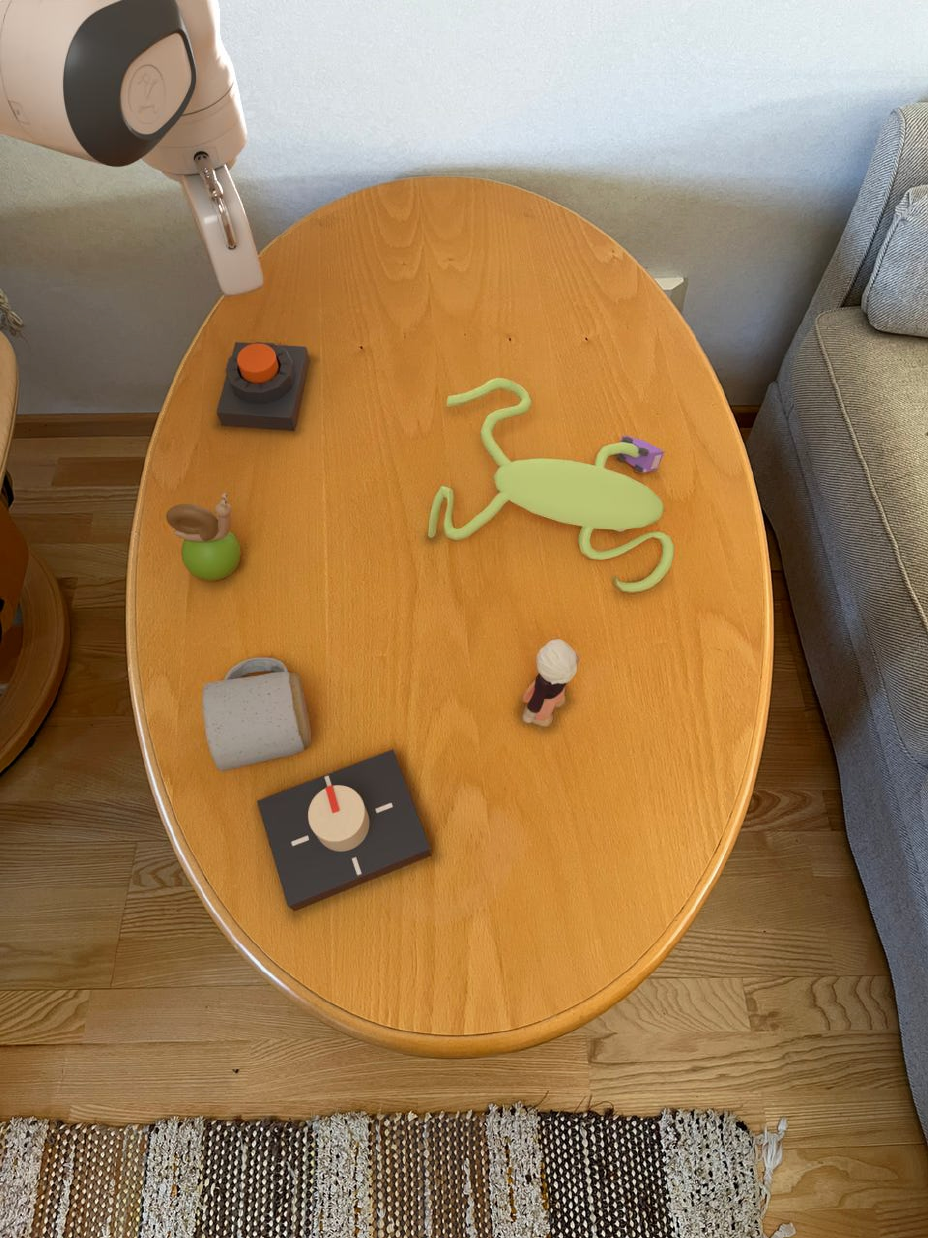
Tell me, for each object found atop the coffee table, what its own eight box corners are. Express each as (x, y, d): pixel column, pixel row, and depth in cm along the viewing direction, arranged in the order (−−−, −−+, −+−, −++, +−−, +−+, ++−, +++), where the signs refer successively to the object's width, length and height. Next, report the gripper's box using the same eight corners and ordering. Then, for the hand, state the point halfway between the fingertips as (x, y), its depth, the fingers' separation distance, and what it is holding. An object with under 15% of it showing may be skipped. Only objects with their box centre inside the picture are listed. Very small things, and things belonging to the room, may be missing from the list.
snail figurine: (252, 591, 81) (221, 524, 71) (186, 590, 81) (145, 523, 71) (259, 543, 84) (230, 471, 73) (195, 542, 84) (156, 470, 73)
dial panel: (294, 911, 68) (287, 906, 66) (263, 809, 72) (256, 800, 69) (431, 855, 70) (430, 848, 68) (395, 759, 74) (392, 748, 71)
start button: (274, 385, 88) (271, 373, 87) (237, 382, 88) (233, 370, 87) (281, 356, 90) (278, 344, 88) (244, 353, 90) (241, 341, 89)
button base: (294, 431, 90) (288, 406, 87) (221, 425, 90) (211, 400, 87) (309, 360, 95) (304, 334, 91) (239, 355, 95) (231, 329, 91)
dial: (376, 841, 68) (371, 829, 64) (323, 859, 67) (315, 849, 63) (360, 790, 70) (355, 776, 66) (309, 807, 69) (301, 794, 65)
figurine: (459, 396, 92) (459, 360, 87) (697, 461, 89) (712, 427, 84) (400, 531, 85) (396, 499, 80) (658, 608, 81) (671, 580, 76)
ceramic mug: (319, 760, 74) (305, 731, 67) (226, 783, 73) (203, 755, 66) (300, 655, 79) (285, 617, 72) (212, 674, 78) (189, 638, 71)
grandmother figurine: (538, 665, 78) (553, 603, 67) (576, 682, 78) (598, 622, 66) (505, 736, 75) (514, 684, 64) (544, 754, 74) (560, 704, 63)
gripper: (262, 192, 61) (295, 334, 73) (194, 37, 69) (233, 188, 82) (177, 213, 60) (224, 354, 72) (118, 53, 68) (170, 204, 81)
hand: (229, 264), depth 77 cm, fingers open, 5 cm apart
